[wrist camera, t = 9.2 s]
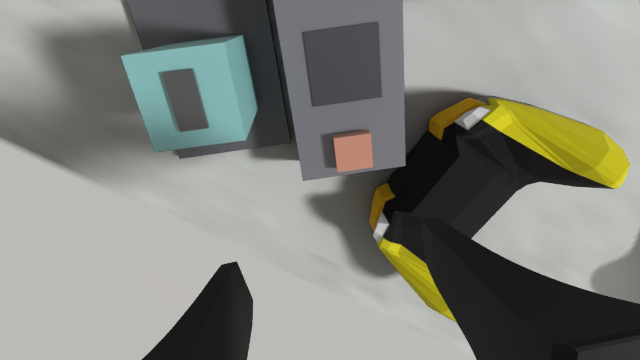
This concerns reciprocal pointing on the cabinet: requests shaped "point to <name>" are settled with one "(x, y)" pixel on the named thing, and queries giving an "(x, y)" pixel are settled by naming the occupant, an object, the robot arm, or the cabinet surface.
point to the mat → (214, 22)
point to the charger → (194, 92)
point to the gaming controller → (482, 175)
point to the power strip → (344, 83)
